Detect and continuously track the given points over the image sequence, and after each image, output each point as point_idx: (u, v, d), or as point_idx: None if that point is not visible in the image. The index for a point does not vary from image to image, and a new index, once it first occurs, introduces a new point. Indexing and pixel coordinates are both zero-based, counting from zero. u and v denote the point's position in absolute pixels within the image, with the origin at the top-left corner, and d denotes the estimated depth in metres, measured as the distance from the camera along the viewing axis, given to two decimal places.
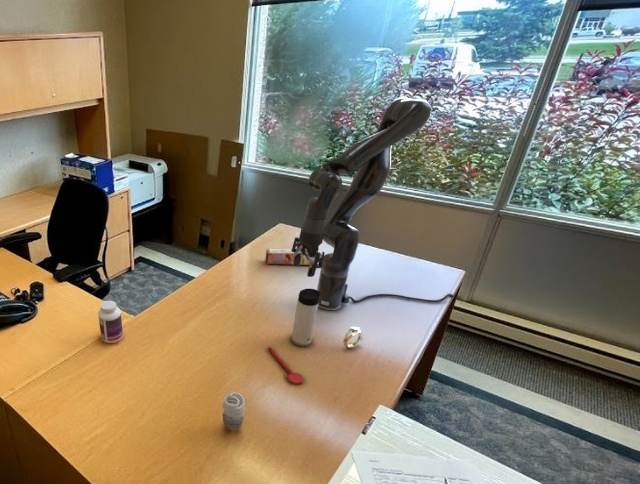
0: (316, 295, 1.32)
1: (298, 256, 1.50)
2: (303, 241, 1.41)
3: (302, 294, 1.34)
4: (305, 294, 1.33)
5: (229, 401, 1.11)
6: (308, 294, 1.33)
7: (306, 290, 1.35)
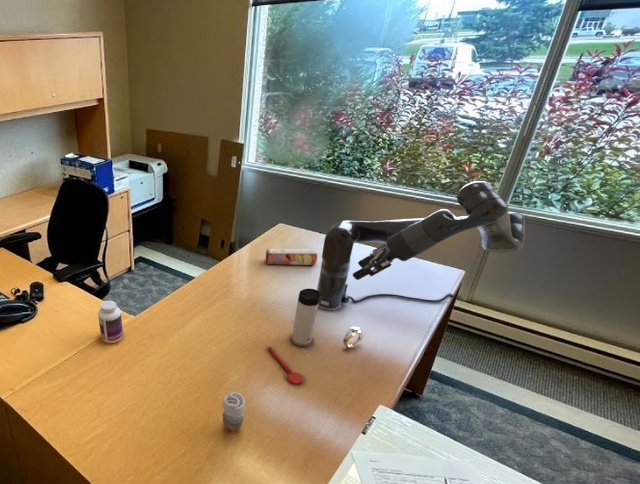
0: (316, 295, 1.32)
1: (371, 258, 1.21)
2: (388, 240, 1.12)
3: (302, 294, 1.34)
4: (305, 294, 1.33)
5: (229, 401, 1.11)
6: (308, 294, 1.33)
7: (306, 290, 1.35)
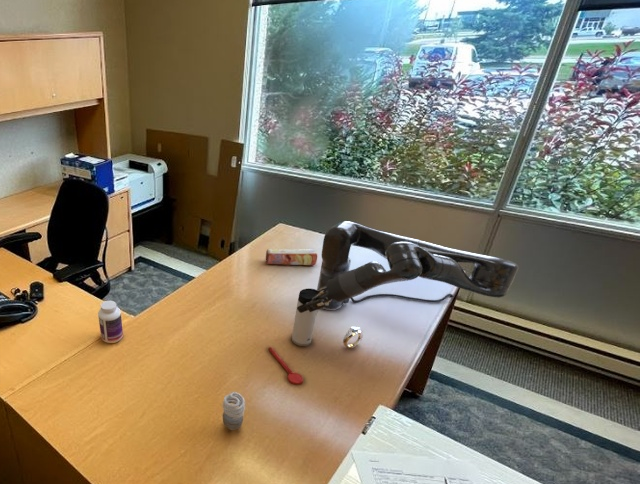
0: None
1: None
2: (328, 282, 1.26)
3: (302, 294, 1.34)
4: (305, 294, 1.33)
5: (229, 401, 1.11)
6: (308, 294, 1.33)
7: (306, 290, 1.35)
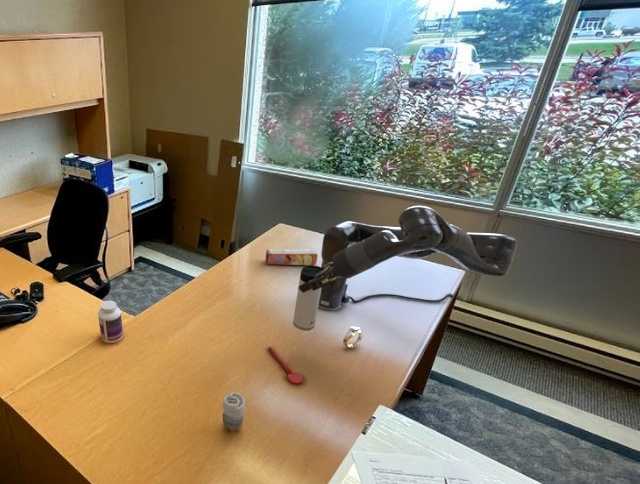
0: None
1: None
2: (333, 256, 1.12)
3: (304, 272, 1.20)
4: (308, 271, 1.20)
5: (229, 401, 1.11)
6: (311, 271, 1.19)
7: (309, 267, 1.21)
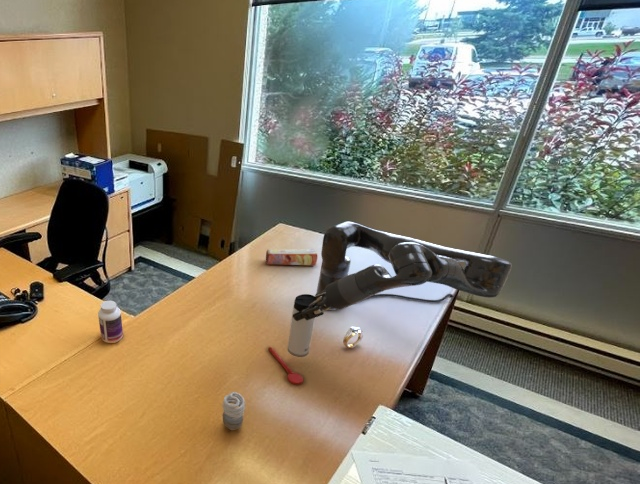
0: None
1: None
2: (326, 287, 1.14)
3: (298, 300, 1.22)
4: (301, 300, 1.22)
5: (229, 401, 1.11)
6: (305, 300, 1.21)
7: (302, 296, 1.23)
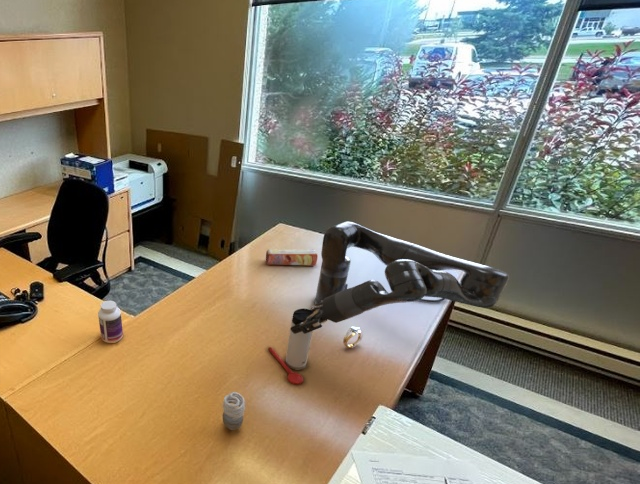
0: None
1: None
2: (323, 301, 1.16)
3: (296, 315, 1.25)
4: (299, 315, 1.24)
5: (229, 401, 1.11)
6: (303, 315, 1.24)
7: (300, 310, 1.26)
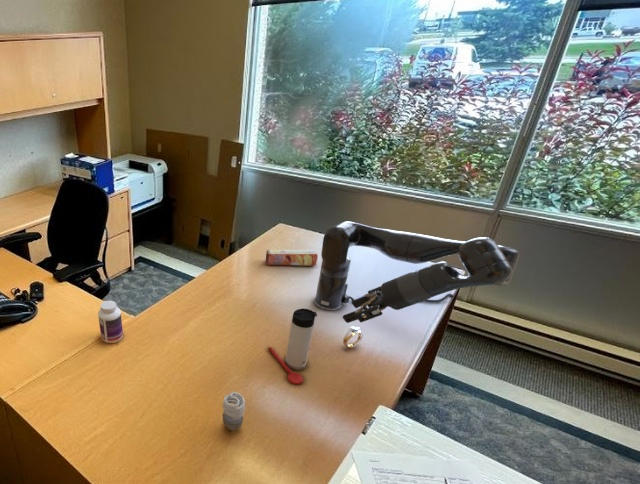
0: (311, 316, 1.23)
1: (365, 300, 1.15)
2: (382, 286, 1.06)
3: (296, 315, 1.25)
4: (299, 315, 1.24)
5: (229, 401, 1.11)
6: (303, 315, 1.24)
7: (300, 310, 1.26)
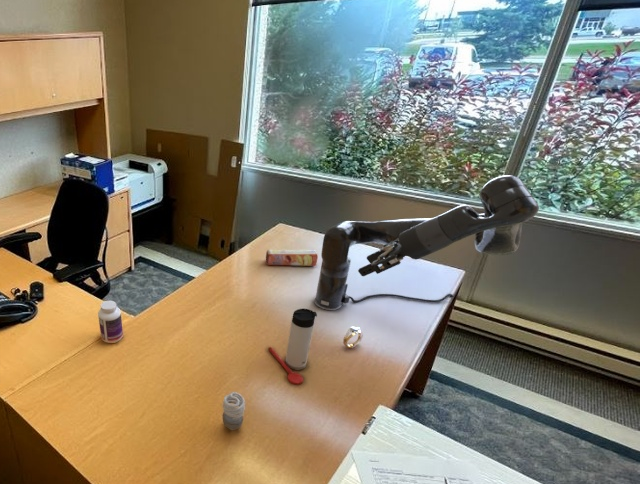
0: (311, 316, 1.23)
1: (381, 254, 1.12)
2: (400, 235, 1.02)
3: (296, 315, 1.25)
4: (299, 315, 1.24)
5: (229, 401, 1.11)
6: (303, 315, 1.24)
7: (300, 310, 1.26)
